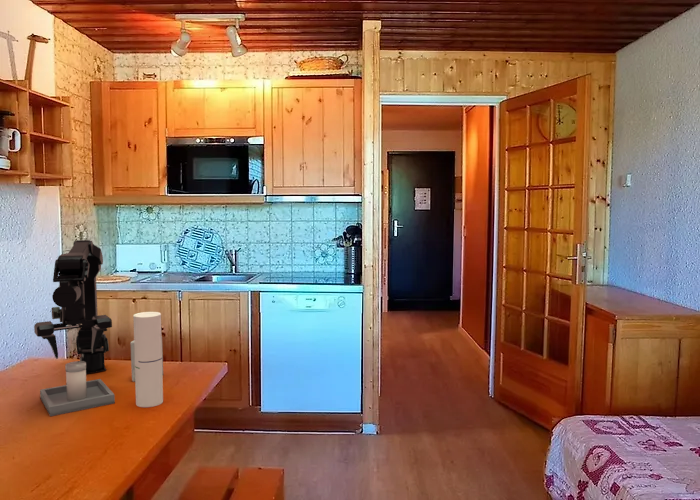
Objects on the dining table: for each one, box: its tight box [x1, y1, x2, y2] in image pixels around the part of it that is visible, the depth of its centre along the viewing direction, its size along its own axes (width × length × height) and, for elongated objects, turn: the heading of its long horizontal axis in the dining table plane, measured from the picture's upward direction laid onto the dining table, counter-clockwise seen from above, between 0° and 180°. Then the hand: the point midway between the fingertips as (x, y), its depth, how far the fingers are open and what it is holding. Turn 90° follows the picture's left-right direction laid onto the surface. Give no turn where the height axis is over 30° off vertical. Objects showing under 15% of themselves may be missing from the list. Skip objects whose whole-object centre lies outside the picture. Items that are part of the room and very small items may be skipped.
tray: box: [39, 378, 116, 417], centre depth 157 cm, size 16×16×2 cm
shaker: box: [64, 360, 87, 401], centre depth 156 cm, size 5×5×10 cm
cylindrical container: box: [132, 311, 164, 408], centre depth 155 cm, size 7×7×25 cm
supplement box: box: [129, 340, 164, 382], centre depth 176 cm, size 7×7×13 cm
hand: (75, 355), depth 155 cm, fingers open, 9 cm apart
